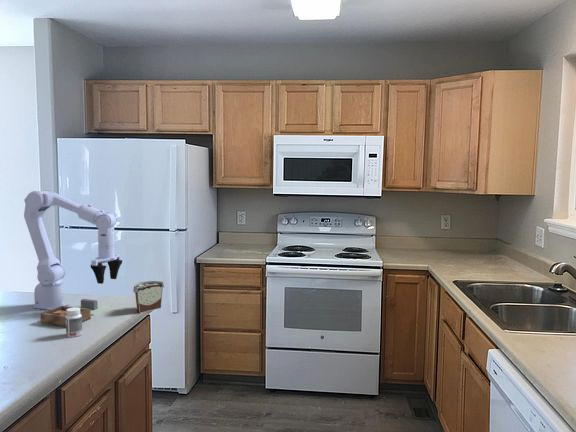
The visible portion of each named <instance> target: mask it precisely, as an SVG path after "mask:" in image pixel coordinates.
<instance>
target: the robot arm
mask: <svg viewBox="0 0 576 432" xmlns="http://www.w3.org/2000/svg"><path fill="white" fill-rule="evenodd" d="M23 201H24V204H25V206H24V212H23V218H24V221H25V224H26V227H27V230H28V232H29V235H30V239H31V242H32V245H33V247H34V250H35V253H36V256H37V260H38V263H37V266H36V271H37V276H36V277H37V281H38V282H39V283H37V285H36V286H35V287H34V295H33V296H34V306H33V307H32V308H33V309H40V310H47V311H49V310H52V309H55V308H57V307H60V306H68V305H69V303H66V302H64V299H63V298H64V296H63V295H64V294H63V293H64V292H63V291H64V290H63V278H64V277H65V275H66V270H65V267H64V266H63V265H62V264H61V261H60V260H59V259H58V258H57V257H56V256H55V255H54V251H53V248H52V245H51V242H50V239H49V236H48V234H47V233H48V232H47V230H46V227H45V225H44V221H43V219H42V217H43V216H44V214H45V212H46V211H47V210H48V209H50V208H51V207H53V206H57V207H59V208H62V209H64V210H66V211H67V210H68V211H70V212H73V213H75V214H77V217H78V219H81V220H83V221H85V222H87V223H89V224H92V225H95V227H96V228H97V240H98V241H97V244H98V245H97V246H98V247H97V249H98V251H97V253H98V256H97V257H96V258H94V259H91V260H90V261H91V264H90V269H91V270H92V272H93V274H94V277H95V278H96V279H95V280H96V283H97V284H102V285H103V284H104V282H105V271H106V270H107V269H106V268H107V265H108V267H109V277H110V280H117V277H118V273H119V269H120V268H121V265H122V264H123V259H122V253H116V251H115V248H116V247H115V244H116V243H115V242H116V241H115V238H116V237H115V225H116V224H117V218H116V216H115V214H113V213H112V212H110V211H109V212H105V210H103V209H99V208H97V207H94V205H93V204H91V203H88V204H87V203H84V204H83V205H81V204H79V203H77V202H75V201H74V200H71V199H69V198H67V197H65V196H63V195H60V194H59V193H57V192H55V191H51V190H47V189H45V190H38V191H36V190H33V191H31V192H29V193H28V194H26V197H25V198H24V200H23ZM105 263H107V265H103V264H105Z"/></svg>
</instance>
